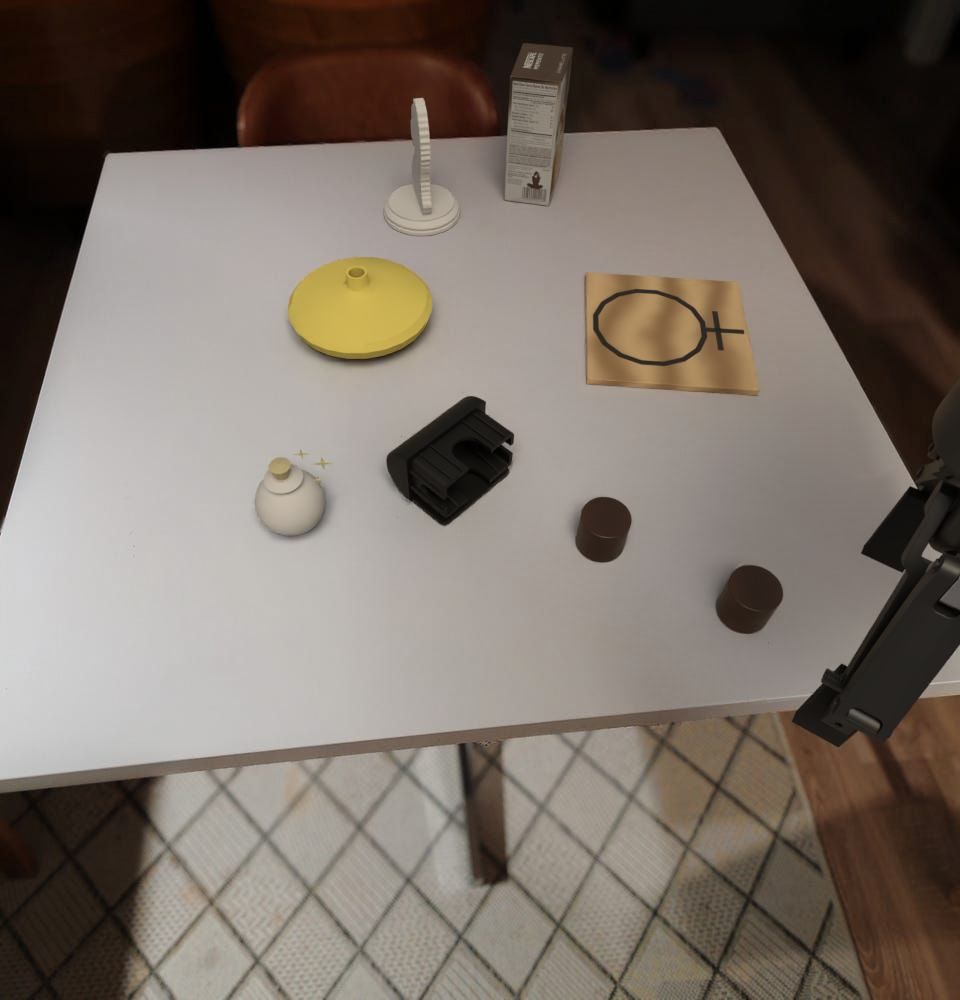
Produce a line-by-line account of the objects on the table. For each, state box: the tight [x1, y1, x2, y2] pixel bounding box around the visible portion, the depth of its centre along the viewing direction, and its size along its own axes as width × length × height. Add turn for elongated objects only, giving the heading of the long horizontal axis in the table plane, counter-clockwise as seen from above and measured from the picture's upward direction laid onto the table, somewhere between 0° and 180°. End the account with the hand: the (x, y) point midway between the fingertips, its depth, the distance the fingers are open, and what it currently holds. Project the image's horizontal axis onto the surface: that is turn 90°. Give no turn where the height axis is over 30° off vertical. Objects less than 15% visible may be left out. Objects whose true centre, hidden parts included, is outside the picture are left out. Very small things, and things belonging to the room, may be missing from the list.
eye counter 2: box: [715, 564, 784, 635], centre depth 64 cm, size 4×4×4 cm
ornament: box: [254, 448, 333, 537], centre depth 66 cm, size 6×7×10 cm
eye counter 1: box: [575, 496, 633, 564], centre depth 68 cm, size 4×4×4 cm
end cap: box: [385, 395, 515, 526], centre depth 71 cm, size 10×7×7 cm
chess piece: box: [383, 97, 461, 237], centre depth 93 cm, size 10×10×15 cm
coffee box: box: [503, 42, 574, 207], centre depth 97 cm, size 9×6×16 cm
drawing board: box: [584, 271, 761, 396], centre depth 86 cm, size 18×18×1 cm
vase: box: [286, 256, 433, 360], centre depth 83 cm, size 16×16×7 cm
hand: (851, 638), depth 47 cm, fingers open, 13 cm apart
